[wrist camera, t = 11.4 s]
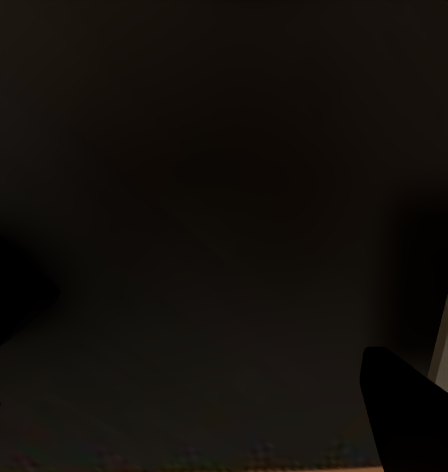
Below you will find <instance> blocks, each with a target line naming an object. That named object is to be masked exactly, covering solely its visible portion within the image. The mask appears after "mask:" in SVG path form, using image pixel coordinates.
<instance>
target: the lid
mask: <svg viewBox="0 0 448 472" xmlns="http://www.w3.org/2000/svg"><path fill="white" fill-rule="evenodd" d="M427 378H429V379H430V380H431V381H433V382H434V383H435V384H437V385H438V386H440V387H441V388H442V389H444V390H445V391H446V392H448V295H447V299H446V304H445V308H444V312H443V316H442V320H441V324H440V328H439V332H438V336H437V341H436V345H435V349H434V353H433V357H432V361H431V365H430V369H429V373H428V377H427Z"/></svg>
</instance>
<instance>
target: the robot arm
mask: <svg viewBox="0 0 448 472" xmlns="http://www.w3.org/2000/svg"><path fill="white" fill-rule="evenodd" d="M48 293H51V294H52V296H50V295H49V294H48ZM59 295H60V293H59V290H58V289H57V288H56V287H55V286H54V285H53V284H51V283H50V282H49V281H48V280H47V279H46V278H45V277H44V276H42V275H41V274H40V273H39V272H38V271H37V270H36V269H35V268H33V267H32V266H31V265H30V264H29V263H28V262H27V261H25V260H24V259H23V258H22V257H21V256H20V255H19V254H18V253H16V252H15V251H14V250H13V249H12V248H11V247H10V246H9V245H7V244H6V243H5V242H4V241H3V240H2V239H1V238H0V346H1V345H3V344H4V343H5V342H6V341H7V340H9V339H10V338H11V337H12V336H14V335H15V334H16V333H17V332H18V331H20V330H21V329H22V328H23V327H25V326H26V325H27V324H28V323H29V322H31V321H32V320H33V319H34V318H36V317H37V316H38V315H39V314H40V313H42V312H43V311H44V310H45V309H47V308H48V307H49V306H50V305H51V304H53V303H54V302H55V301H56V300H57V299H58V297H59ZM360 386H361V391H362V394H363V398H364V402H365V406H366V410H367V413H368V417H369V421H370V425H371V428H372V432H373V436H374V440H375V444H376V447H377V451H378V454H379V458H380V461H381V464H382V467H383V469H384V472H448V392H446V391H445V390H444V389H442V388H441V387H440V386H438V385H437V384H435V383H434V382H433V381H431V380H430V379H429V378H427V377H426V376H424V375H423V374H422V373H420V372H419V371H418V370H416V369H415V368H413V367H412V366H411V365H409V364H408V363H407V362H405V361H404V360H402V359H401V358H400V357H398V356H397V355H396V354H394V353H393V352H391V351H390V350H389V349H387V348H385V347H367V348H365V350H364V353H363V359H362V365H361V372H360ZM0 404H1V403H0Z"/></svg>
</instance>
